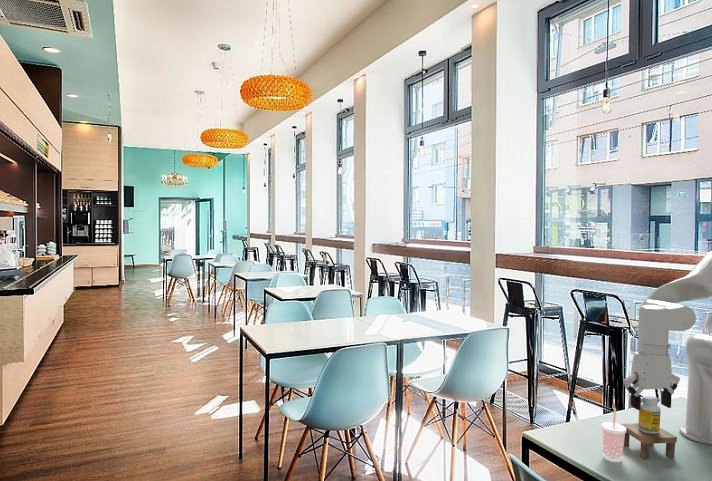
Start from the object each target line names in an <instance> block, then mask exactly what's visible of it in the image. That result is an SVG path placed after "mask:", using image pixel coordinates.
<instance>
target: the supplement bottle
mask: <svg viewBox="0 0 712 481" xmlns="http://www.w3.org/2000/svg"><path fill="white" fill-rule="evenodd" d="M641 397H642V398H641V401H642V402H641V409H640V410H638V428H639V429H640V430H641V431H643V432H646V433H650V434H657V433H659V430H660V428H661V407H660V406H659V405H658V404H659V398H658V397H656V396H654V395H653V396H652V395H642V396H641Z"/></svg>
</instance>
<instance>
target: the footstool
mask: <svg viewBox="0 0 712 481" xmlns="http://www.w3.org/2000/svg"><path fill="white" fill-rule="evenodd" d="M638 423H639V422H638ZM638 423H621V424H620V425H623V426H624V427H626V433H625V438H624V446H623V448H624V447H625V448H626V447H630V439H631V437H632V438H634V439H636V440H637V441H639V442H640V451H639V452H640V453H639V457H640V458H641V459H642V460H649V459H650V446H654V445H655V444H665V457H667V458H669V459H675V455H676V454H675V451H676V443H677V441H678V437H677V436H675V435H674V434H672V433H670V432H668V431H667V430H665V429H664V428H661V427H660V430H659V433H657V434H650V433H646V432H643V431H641V430H640V429H639V428H638Z"/></svg>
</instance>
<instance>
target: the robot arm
mask: <svg viewBox="0 0 712 481" xmlns="http://www.w3.org/2000/svg"><path fill="white" fill-rule="evenodd" d="M710 297H712V251H709V252H708V253H707V254H705V255H704V256H703V257H702V259H701V260H700V261H699V262H698V263H697V264H696V265H695V266H694V267H693V268H692V269H691V270H690V271H689V272H688V274H687V275H686V276H684V277H681V278H678V279H675V280H673V281H671V282H668V283H665V284H663V285H661V286H659V287H657V288H655V290H653V291H652V292H651V293H650V294H649V295H648V297H646V299H645V300H644V301H643V303H642V304H641V306H640V307H639V309H638V323H637V324H638V329H637V330H638V331H637V351H635V352H634V354H633V358H632V363H631V368H630V375H629V376H628V377H626V378H624V379H622V381H623V385H624V387H625V389H626V390H627V391H628V393H629V394H630V406H631V407H632V408H633V409H635V410H636V411H639V410H640V409H641V403H642V402H641V401H642V398H641V397H642V396H641V393H642V392H643V391H644V390H647V391H648V390H658V389H659V390H660V389H662V390H661V391H660V392H661V394H660V395H661V396H660V404H661V405H662V406H664V407H666V408H668V409H671V408H672V395H673V394H674V393H675V390H676V389H677V388H678V385H679V383H680V380H681V378H680V377H679V376H677V375H675V374H674V373H673V372H672V371H673V370H672V360H671V356H670V354H669V350H670V349H671V347H672V346H671V344H670V343H669V334H670V333H669V332H670V331H673V332H674V331H676V332H684V331H688V330H690V329H691V328H693V326H694V325H695V324H696V321H697V320H696V319H697V316H696V313H695V311H694V310H693V309H692V308H691V307H689V306H686V305H683V304H680V303H682V302H683V303H684V302H690V301H692V302H693V301H699V300H704V299H708V298H710ZM705 329H706V330H707V332H708V333H710V335H709V334H695V335H694V334H693V335H692V336H691V337H689V338H688V339H687V342H686V345H685V351H686V352H685V353H686V358H687V359H686V360H687V366H688V373H687V374H688V377H687V380H688V382H687V392H686V393H687V396H686V413H685V414H686V415H685V416H686V417H685V424H683V425H681V426H680V427H679V433H680V434H681V436H683V437H685V438H688V439H689V440H692V441H695V442H698V443H701V444H704V445H705V444H706V445H711V446H712V310H711V311H710V313H709V315H708V317H707V318H706V322H705Z"/></svg>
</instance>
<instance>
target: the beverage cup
mask: <svg viewBox="0 0 712 481" xmlns="http://www.w3.org/2000/svg"><path fill="white" fill-rule="evenodd" d="M616 412H617V409H616V408H613V420H612V421H613V422H608V421H607V422H602V423H601V429H602V449H603V450H602V455H603V458H604V459H605V460H606V461H609V462H612V463H613V462H614V463H620V462H622V460H623V454H624V438H625V433H626V427H624V426H623V425H621V424H620V423H617V422H616V418H617V416H616Z"/></svg>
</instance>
